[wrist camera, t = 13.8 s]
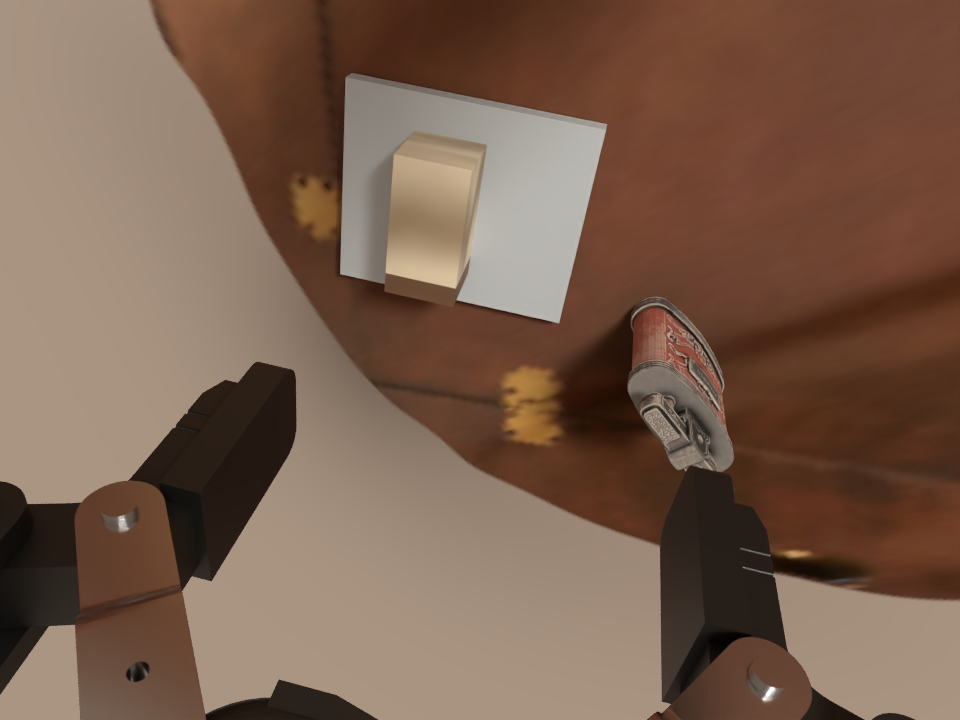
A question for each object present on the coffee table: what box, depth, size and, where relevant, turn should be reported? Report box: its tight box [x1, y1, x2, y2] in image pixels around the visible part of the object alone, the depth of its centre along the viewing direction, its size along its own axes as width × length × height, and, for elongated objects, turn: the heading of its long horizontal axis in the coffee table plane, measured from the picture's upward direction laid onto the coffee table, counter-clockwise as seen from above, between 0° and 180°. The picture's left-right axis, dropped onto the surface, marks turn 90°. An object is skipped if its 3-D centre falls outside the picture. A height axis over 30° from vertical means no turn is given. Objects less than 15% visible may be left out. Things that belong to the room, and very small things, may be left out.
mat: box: [340, 73, 607, 323], centre depth 42 cm, size 14×12×1 cm
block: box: [384, 130, 487, 307], centre depth 40 cm, size 8×4×4 cm, turn 172°
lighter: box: [628, 297, 734, 472], centre depth 41 cm, size 8×3×10 cm, turn 40°
